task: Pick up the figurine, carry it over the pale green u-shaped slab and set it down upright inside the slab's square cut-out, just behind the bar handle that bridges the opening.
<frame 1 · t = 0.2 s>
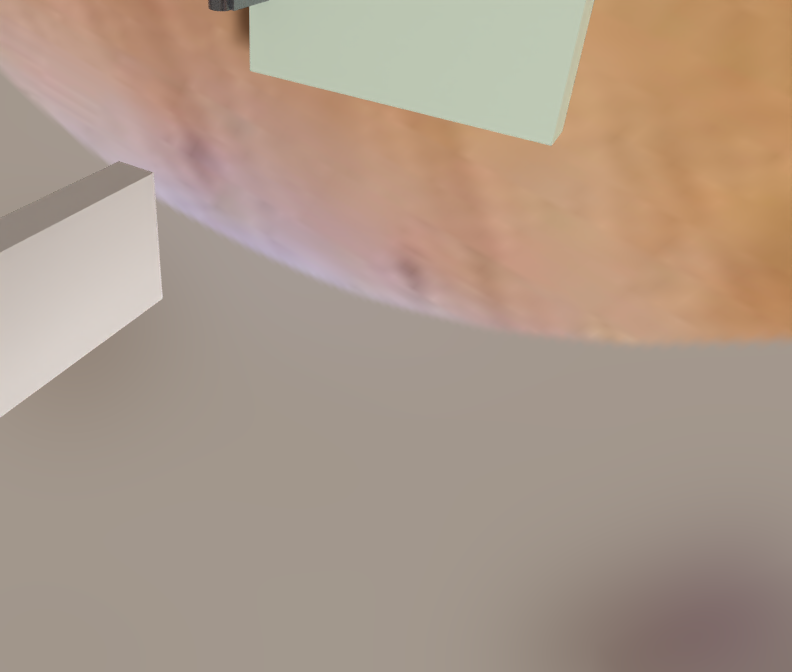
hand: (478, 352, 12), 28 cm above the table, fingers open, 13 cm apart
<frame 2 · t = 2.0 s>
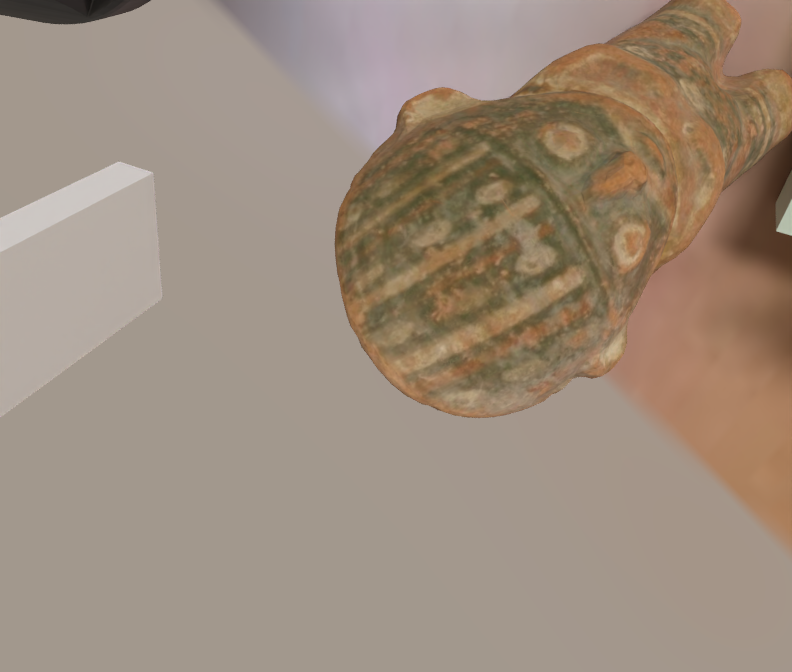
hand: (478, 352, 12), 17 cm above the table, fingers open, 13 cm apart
figurine: (626, 86, 25), on the table
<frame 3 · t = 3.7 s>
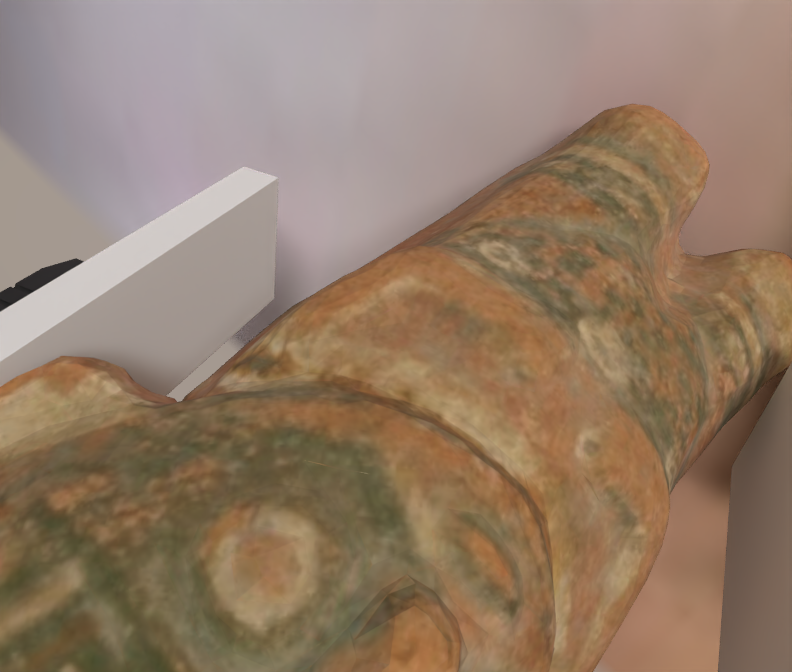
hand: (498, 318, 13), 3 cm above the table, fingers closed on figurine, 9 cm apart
figurine: (531, 236, 16), on the table, touching gripper
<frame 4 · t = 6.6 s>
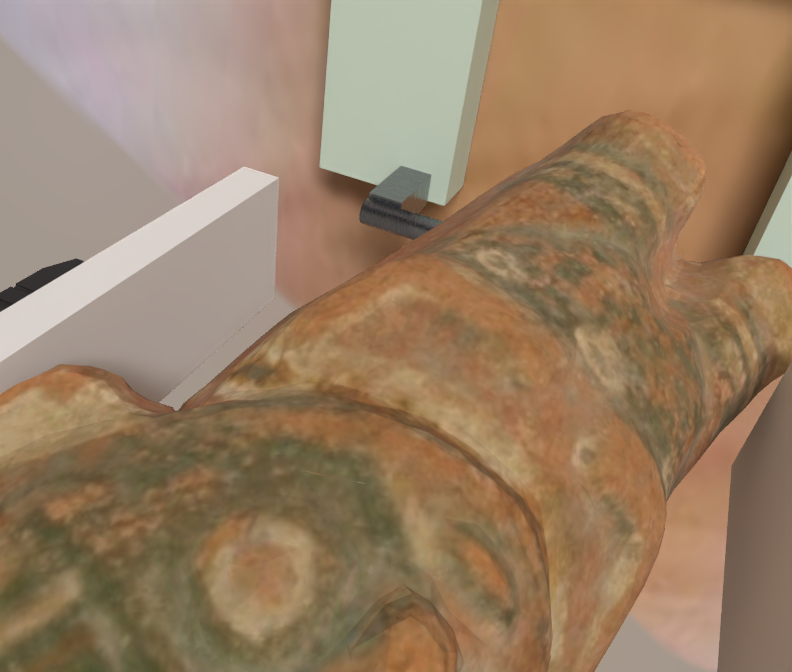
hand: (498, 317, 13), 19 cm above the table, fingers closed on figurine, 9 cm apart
figurine: (530, 241, 16), point 16 cm above the table, touching gripper
pale green u-shaped slab: (660, 16, 27), on the table
bar handle: (596, 214, 31), resting on pale green u-shaped slab
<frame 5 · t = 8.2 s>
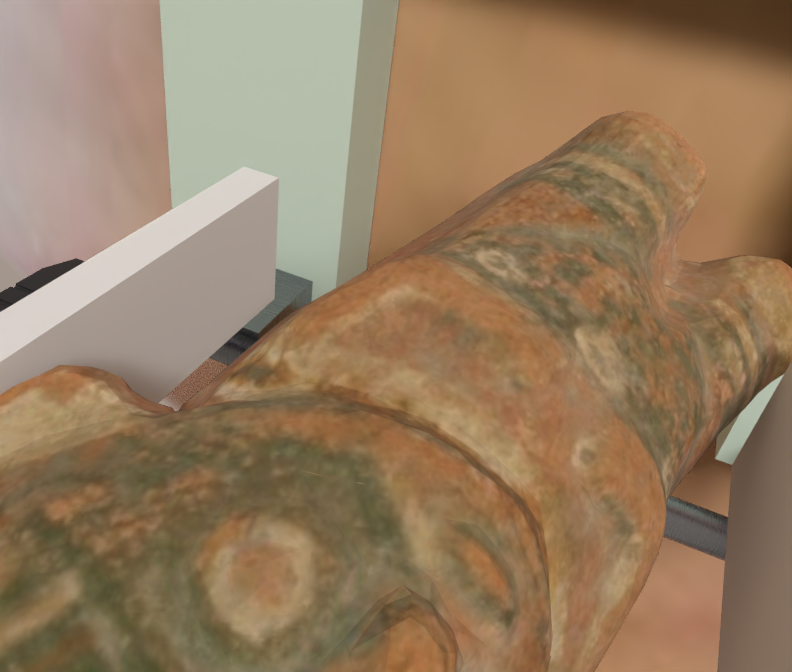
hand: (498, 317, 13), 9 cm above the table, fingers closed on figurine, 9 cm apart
figurine: (530, 242, 16), point 6 cm above the table, touching gripper
pale green u-shaped slab: (609, 82, 19), on the table
bar handle: (534, 331, 24), resting on pale green u-shaped slab
when the fingers open (5 cm above the table, at t = 9.5 s): figurine drops 2 cm, resting in pale green u-shaped slab.
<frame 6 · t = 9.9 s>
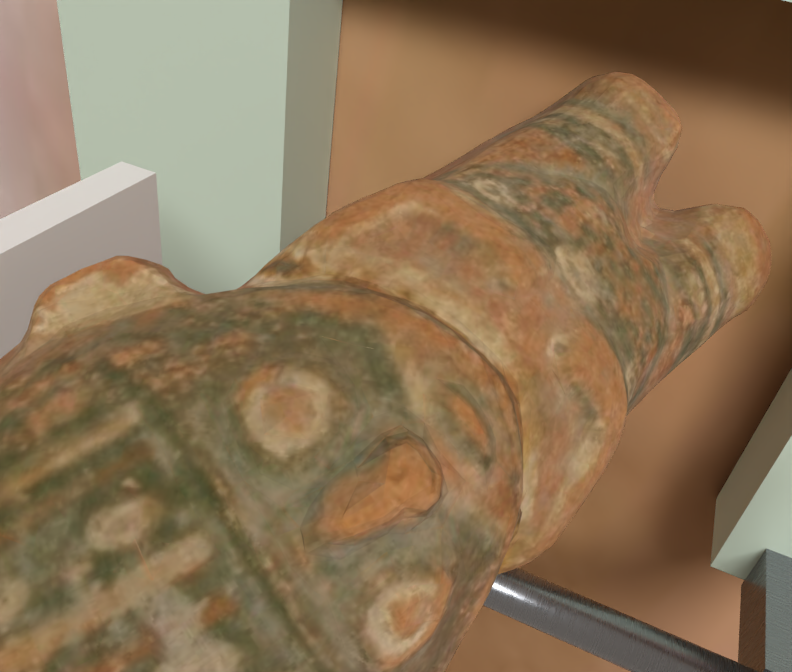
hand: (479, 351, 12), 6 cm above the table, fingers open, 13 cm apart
figurine: (525, 195, 17), resting in pale green u-shaped slab
pale green u-shaped slab: (585, 129, 16), on the table
bar handle: (505, 404, 21), resting on pale green u-shaped slab
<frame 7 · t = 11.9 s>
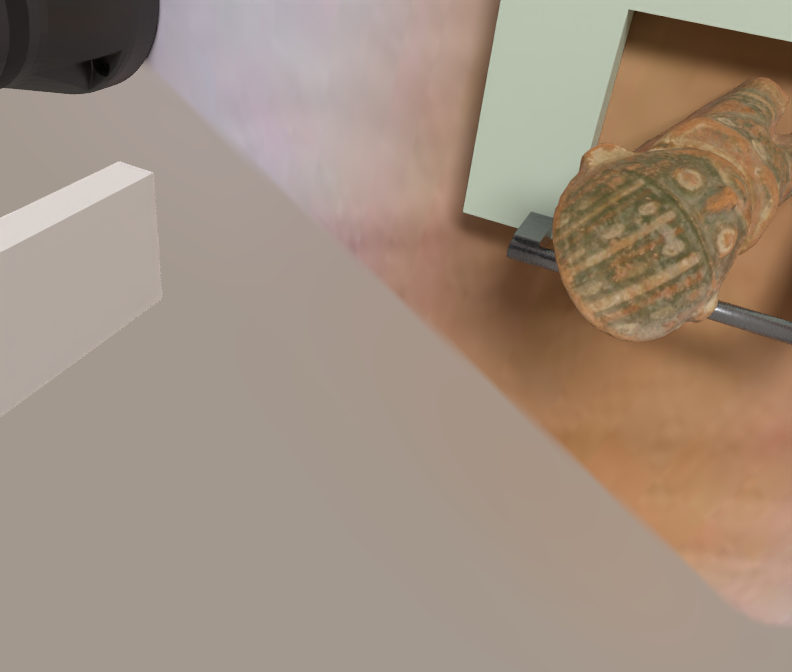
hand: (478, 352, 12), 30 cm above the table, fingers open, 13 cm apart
figurine: (705, 136, 37), resting in pale green u-shaped slab
pale green u-shaped slab: (739, 103, 36), on the table
bar handle: (683, 248, 40), resting on pale green u-shaped slab
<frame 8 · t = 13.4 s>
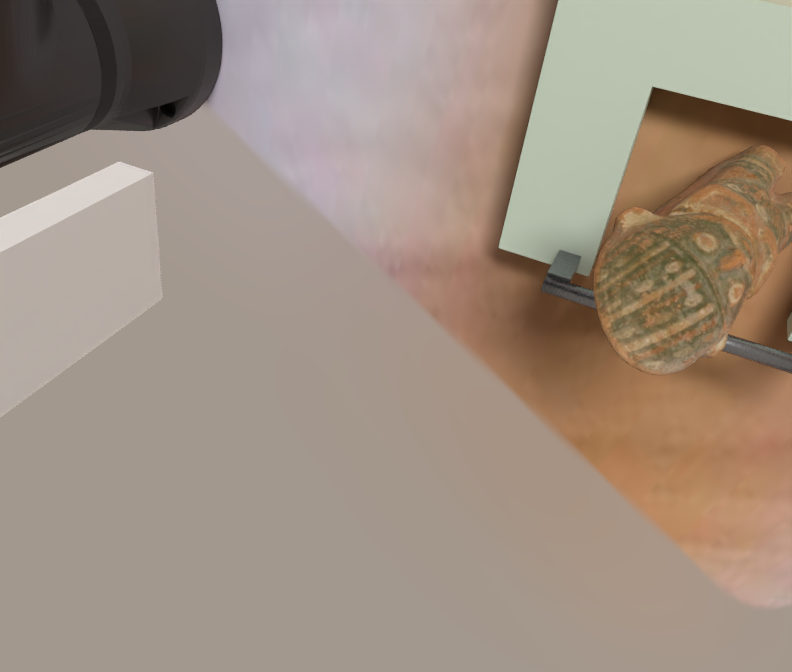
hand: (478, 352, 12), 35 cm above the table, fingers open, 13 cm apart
figurine: (713, 189, 43), resting in pale green u-shaped slab
pale green u-shaped slab: (742, 163, 42), on the table
bar handle: (691, 282, 46), resting on pale green u-shaped slab
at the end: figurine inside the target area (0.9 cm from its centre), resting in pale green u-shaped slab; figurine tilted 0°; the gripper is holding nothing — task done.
